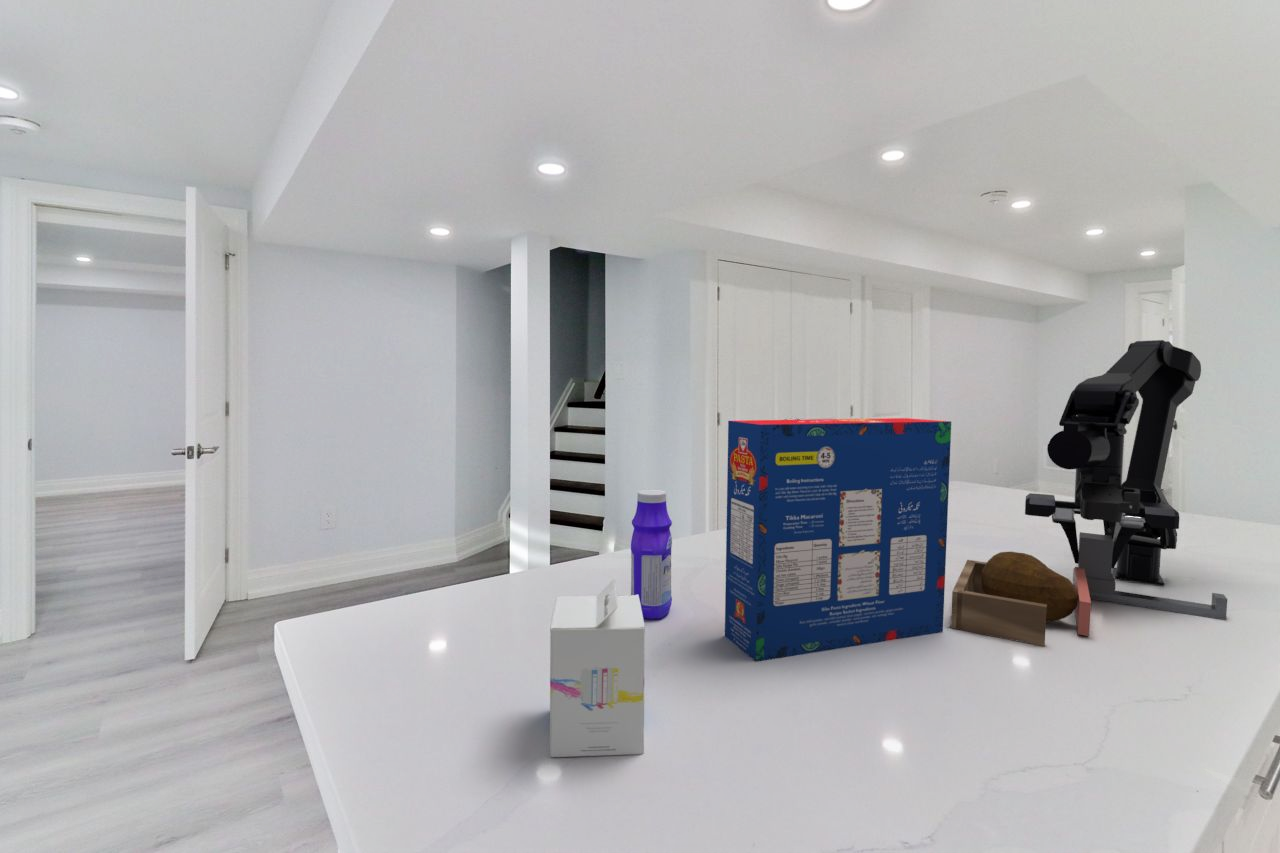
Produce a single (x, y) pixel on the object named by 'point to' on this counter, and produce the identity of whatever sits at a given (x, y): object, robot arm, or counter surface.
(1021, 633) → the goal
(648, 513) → the bottle
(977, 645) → the counter surface
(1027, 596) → the potato
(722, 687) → the counter surface
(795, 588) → the pasta box
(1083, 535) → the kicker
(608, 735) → the ink box
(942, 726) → the counter surface
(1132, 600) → the rail
